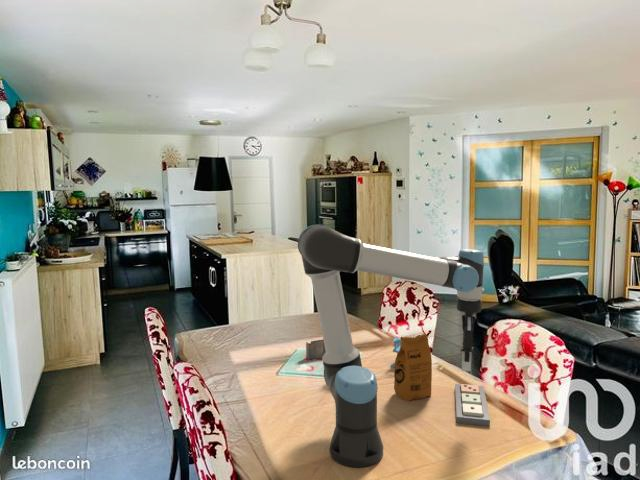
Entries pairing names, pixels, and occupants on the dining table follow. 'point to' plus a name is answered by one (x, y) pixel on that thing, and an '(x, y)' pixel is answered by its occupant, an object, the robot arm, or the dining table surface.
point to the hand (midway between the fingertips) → (466, 370)
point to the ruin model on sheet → (315, 349)
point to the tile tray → (466, 418)
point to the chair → (396, 347)
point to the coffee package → (413, 368)
